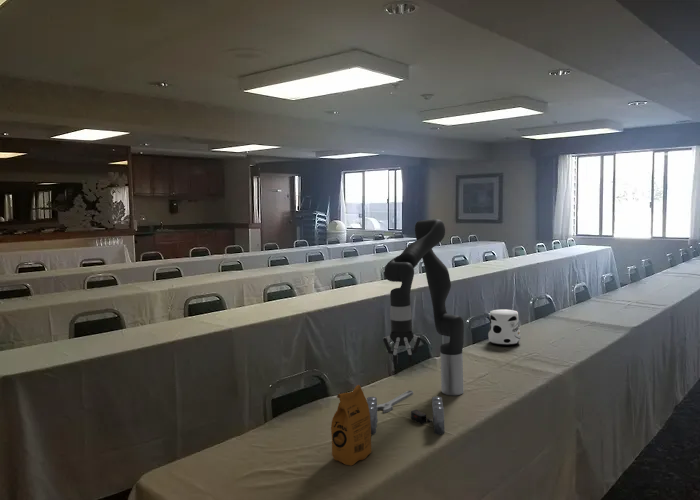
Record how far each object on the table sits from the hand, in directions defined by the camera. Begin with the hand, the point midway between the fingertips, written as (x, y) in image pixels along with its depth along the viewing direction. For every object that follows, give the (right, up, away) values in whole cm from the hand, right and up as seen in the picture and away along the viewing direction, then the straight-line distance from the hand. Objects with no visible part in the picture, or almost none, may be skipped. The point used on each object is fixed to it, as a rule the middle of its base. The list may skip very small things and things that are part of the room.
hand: (402, 364), depth 188 cm
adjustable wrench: (0, -22, +25) cm, 33 cm away
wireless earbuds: (+7, -23, +6) cm, 25 cm away
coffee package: (-18, -26, -20) cm, 37 cm away
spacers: (+1, -23, 0) cm, 23 cm away
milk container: (+68, -12, +106) cm, 126 cm away
